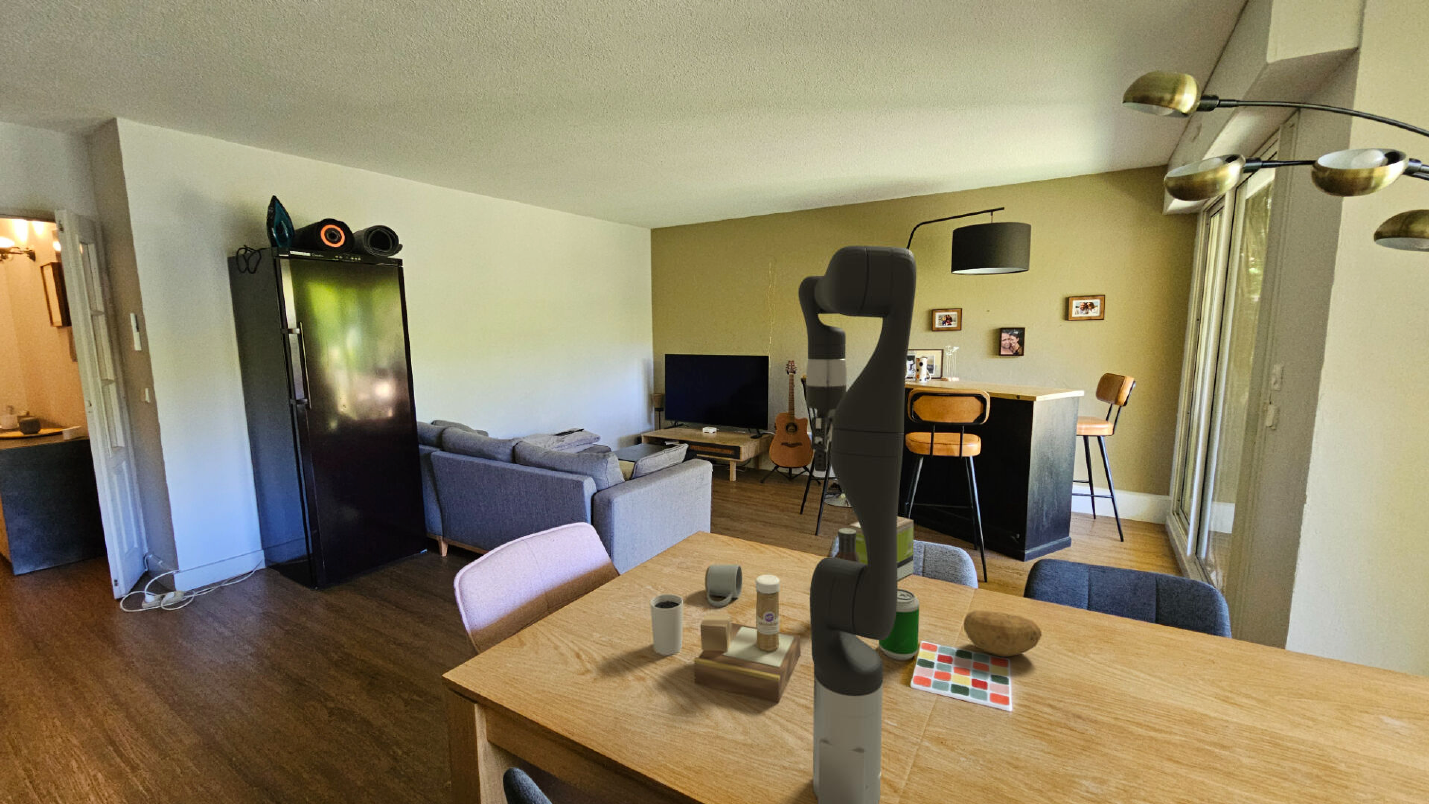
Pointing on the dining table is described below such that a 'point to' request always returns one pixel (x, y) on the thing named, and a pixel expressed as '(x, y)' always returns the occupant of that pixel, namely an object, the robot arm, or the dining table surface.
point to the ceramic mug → (723, 582)
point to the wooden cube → (716, 632)
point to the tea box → (903, 546)
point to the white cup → (667, 623)
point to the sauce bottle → (847, 545)
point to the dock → (749, 665)
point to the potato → (1001, 632)
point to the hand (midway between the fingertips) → (825, 466)
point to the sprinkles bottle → (767, 612)
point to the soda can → (903, 628)
